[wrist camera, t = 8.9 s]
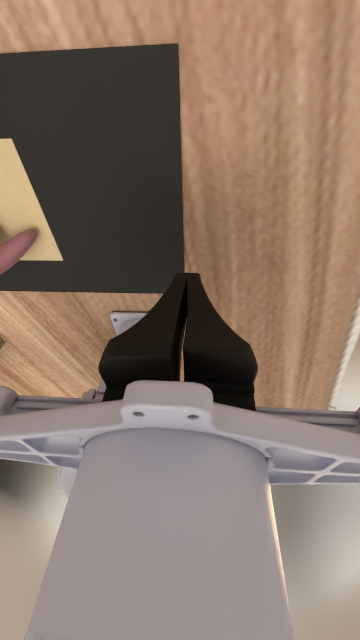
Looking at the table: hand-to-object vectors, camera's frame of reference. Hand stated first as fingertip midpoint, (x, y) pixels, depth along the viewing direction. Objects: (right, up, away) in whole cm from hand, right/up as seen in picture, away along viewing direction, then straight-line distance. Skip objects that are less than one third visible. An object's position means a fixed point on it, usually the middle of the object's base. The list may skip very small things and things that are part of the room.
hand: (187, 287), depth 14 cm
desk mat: (-13, +8, +7) cm, 17 cm away
